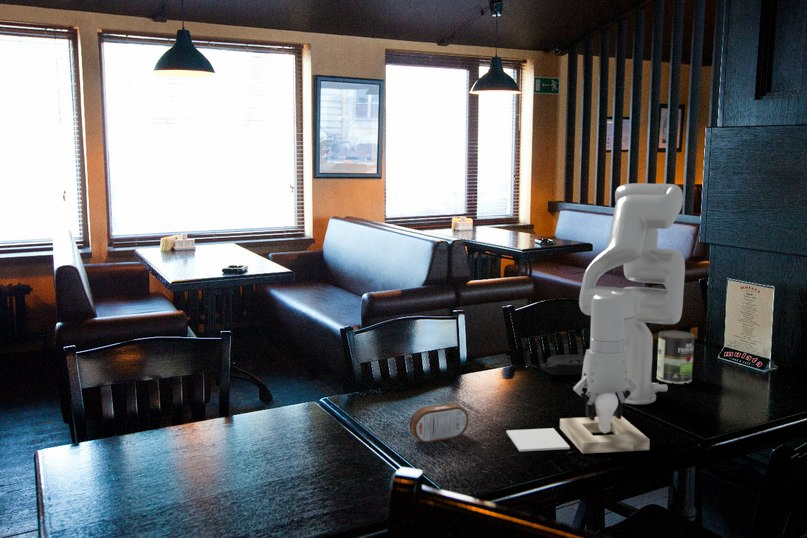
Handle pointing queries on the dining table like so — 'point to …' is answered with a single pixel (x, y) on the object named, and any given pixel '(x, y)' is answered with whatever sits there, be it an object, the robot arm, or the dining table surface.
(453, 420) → the tin
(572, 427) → the plate
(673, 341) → the coffee can
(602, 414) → the lightbulb
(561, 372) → the oil lamp
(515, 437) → the rubber mat
